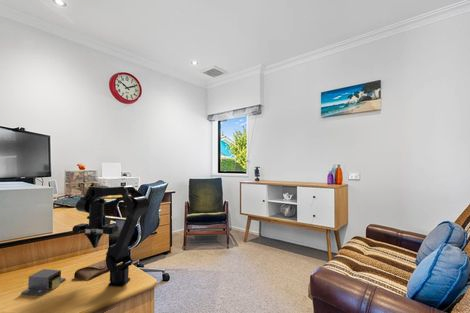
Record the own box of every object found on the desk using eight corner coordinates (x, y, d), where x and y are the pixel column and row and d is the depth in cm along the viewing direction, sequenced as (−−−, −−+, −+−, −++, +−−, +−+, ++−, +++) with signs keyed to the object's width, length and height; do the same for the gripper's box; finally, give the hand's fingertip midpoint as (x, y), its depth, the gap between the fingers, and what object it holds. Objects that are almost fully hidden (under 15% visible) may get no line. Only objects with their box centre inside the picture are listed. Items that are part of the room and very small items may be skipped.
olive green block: (59, 285, 99) (60, 277, 99) (52, 290, 95) (52, 281, 95) (47, 284, 100) (47, 275, 100) (38, 289, 96) (39, 280, 96)
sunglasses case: (86, 282, 102) (81, 266, 103) (76, 287, 104) (72, 272, 106) (121, 265, 118) (117, 253, 120) (112, 270, 121) (108, 258, 122)
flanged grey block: (65, 280, 103) (66, 267, 103) (40, 295, 91) (41, 281, 91) (48, 279, 104) (49, 266, 104) (21, 294, 92) (21, 279, 92)
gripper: (125, 210, 116) (124, 242, 116) (89, 209, 118) (87, 241, 117) (111, 215, 105) (110, 251, 105) (72, 214, 107) (70, 249, 106)
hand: (95, 247), depth 109 cm, fingers closed
